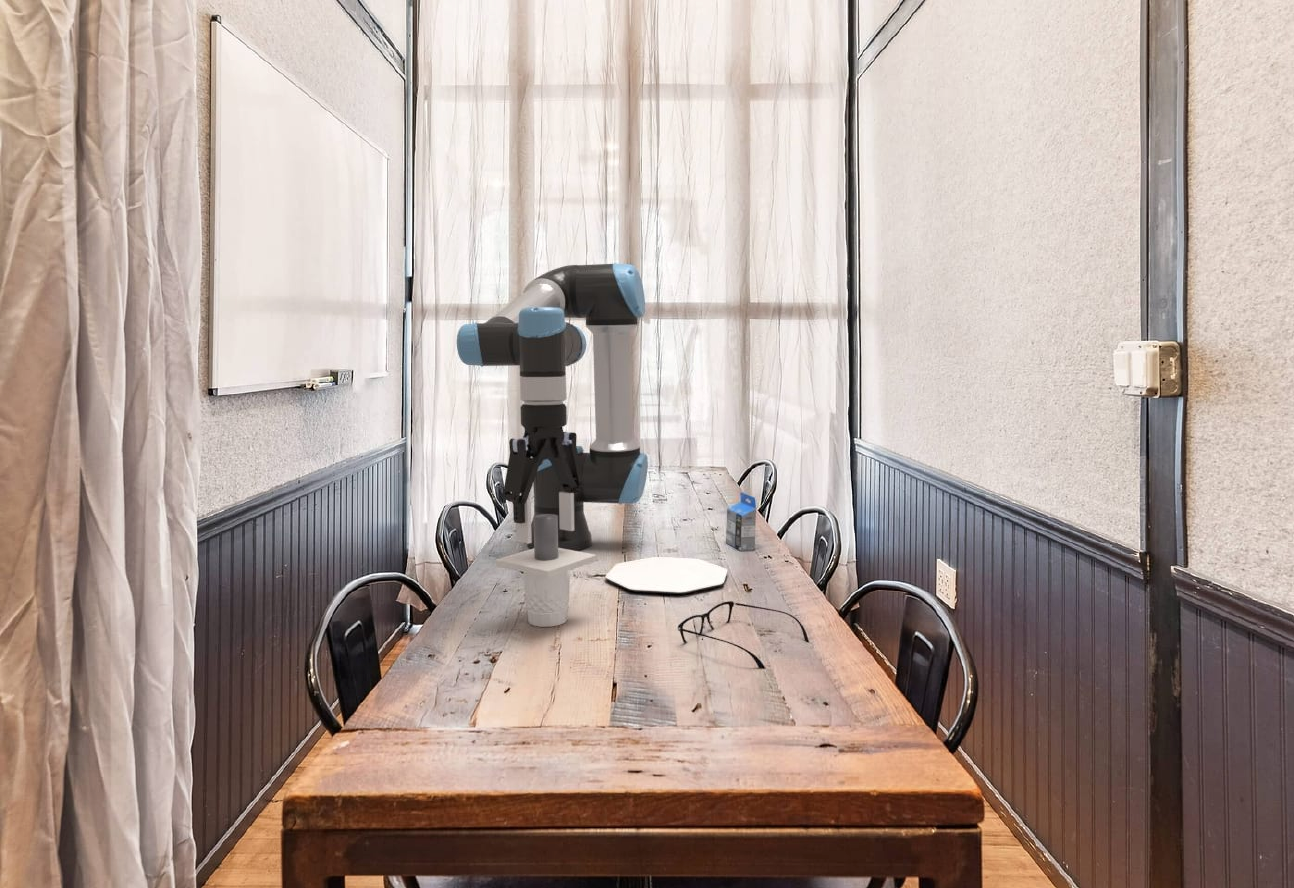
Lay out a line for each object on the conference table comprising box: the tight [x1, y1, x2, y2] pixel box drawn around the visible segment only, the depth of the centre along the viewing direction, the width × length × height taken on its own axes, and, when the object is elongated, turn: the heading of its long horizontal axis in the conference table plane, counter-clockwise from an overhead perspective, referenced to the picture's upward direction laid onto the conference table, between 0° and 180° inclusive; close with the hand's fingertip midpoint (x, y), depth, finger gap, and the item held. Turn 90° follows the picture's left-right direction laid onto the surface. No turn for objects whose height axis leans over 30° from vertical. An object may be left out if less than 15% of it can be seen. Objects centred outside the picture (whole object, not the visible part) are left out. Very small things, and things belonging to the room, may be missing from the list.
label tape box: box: [725, 491, 757, 552], centre depth 178 cm, size 9×4×12 cm, turn 17°
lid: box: [494, 514, 598, 578], centre depth 128 cm, size 12×12×8 cm
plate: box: [604, 556, 729, 595], centre depth 153 cm, size 24×24×2 cm
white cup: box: [523, 570, 571, 628], centre depth 129 cm, size 8×8×10 cm
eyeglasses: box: [676, 600, 810, 670], centre depth 119 cm, size 16×16×4 cm
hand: (546, 535), depth 127 cm, fingers open, 10 cm apart
